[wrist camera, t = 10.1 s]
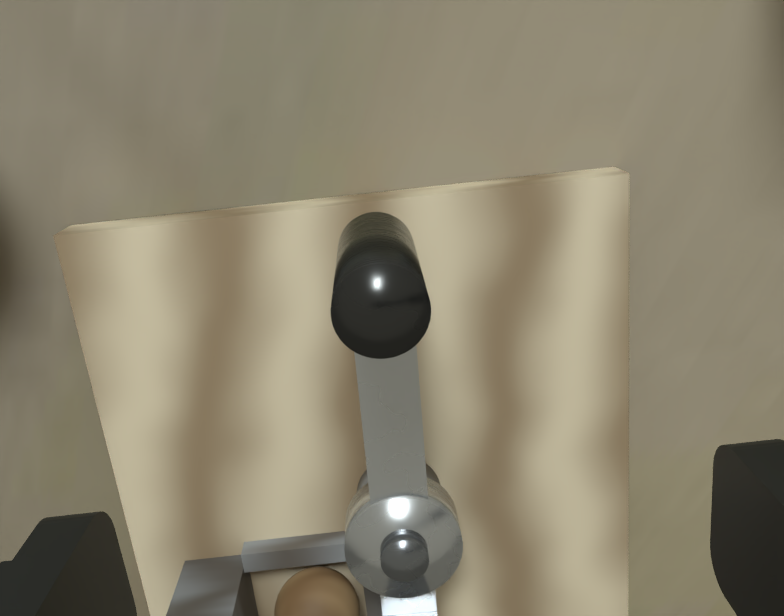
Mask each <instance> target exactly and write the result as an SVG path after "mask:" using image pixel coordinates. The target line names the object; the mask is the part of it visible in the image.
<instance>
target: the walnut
mask: <svg viewBox="0 0 784 616" xmlns="http://www.w3.org/2000/svg"><path fill="white" fill-rule="evenodd" d="M274 616H360V605H359V599H358V596H357V593H356V591H355V588H354V587H353V585H352V584H351V582H350V581H349V580H348V579H347V578H346V577H345V576H344V575H343V574H341V573H340V572H338V571H336V570H334V569H331V568H328V567H322V566H315V567H309V568H306V569H303V570H301V571H299V572H297V573H296V574H294V575H293V576H292V577H291V578H289V579H288V580H287V581H286V583H285V584H284V585H283V587H282V588H281V590H280V592H279V594H278V596H277V600H276V603H275V610H274Z"/></svg>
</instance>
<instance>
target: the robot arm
mask: <svg viewBox="0 0 784 616" xmlns="http://www.w3.org/2000/svg"><path fill="white" fill-rule="evenodd" d="M710 550H711V558H712V564H713V568H714V572H715V575H716V578H717V581H718V584H719V586H720V588H721V590H722V593H723V594H724V596H725V598H726V599H727V601H728V602H729V604H730V605H731V607H732V608H733V610H734V611H735V613H736V615H737V616H784V441H783V440H781V439H774V440H764V441H755V442H746V443H737V444H728V445H721V446H720V447H718V449H717V450H716V453H715V456H714V463H713V486H712V512H711V537H710ZM0 616H137V613H136V607H135V602H134V599H133V595H132V591H131V588H130V584H129V580H128V576H127V573H126V569H125V565H124V562H123V558H122V554H121V551H120V547H119V543H118V539H117V536H116V532H115V528H114V525H113V523H112V520H111V518H110V517H109V515H108V514H106V513H105V512H93V513H83V514H74V515H65V516H56V517H47V518H44V519H43V520H41V521H40V522H39V523H38V524H37V526H36V527H35V529H34V530H33V532H32V533H31V534H30V536H29V537H28V539H27V540H26V542H25V543H24V544H23V546H22V547H21V549H20V550H19V552H18V553H17V554H16V556H15V557H14V559H13V560H12V561H4V562H1V563H0Z"/></svg>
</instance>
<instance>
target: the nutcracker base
mask: <svg viewBox="0 0 784 616" xmlns="http://www.w3.org/2000/svg"><path fill="white" fill-rule="evenodd" d="M369 212H383V213H387V214H390V215H393V216H395V217H396V218H398V219H399V220H401V221H402V222H403V223H404V224H405V225H406V227H407V228H408V229H409V231H410V233H411V235H412V238H413V241H414V245H415V249H416V252H417V256H418V259H419V263H420V267H421V270H422V274H423V277H424V281H425V285H426V288H427V292H428V295H429V299H430V303H431V319H430V323H429V326H428V329H427V331H426V333H425V335H424V336H423V338H422V339H421V340H420V341H419V343H418V344H417V345H416V347H417V360H418V372H419V385H420V398H421V411H422V424H423V437H424V450H425V463H426V476H427V477H428V478H430V479H432V480H434V481H436V482H437V483H439V484H440V485H441V486H442V487H443V488H444V489H445V490H446V491H447V492H448V493H449V495H450V496H451V498H452V500H453V502H454V504H455V507H456V511H457V516H458V521H459V525H460V530H461V535H462V541H463V552H462V558H461V561H460V563H459V565H458V567H457V569H456V571H455V572H454V574H453V575H452V576H451V577H450V578H449V580H448V581H446V582H445V583H444V584H443V585H442V586H440V587H439V588H437V589H435V592H436V605H437V615H438V616H628V512H629V217H630V174H629V173H627V172H625V171H623V170H620V169H618V168H616V167H607V168H598V169H588V170H579V171H570V172H560V173H551V174H542V175H533V176H523V177H514V178H505V179H495V180H486V181H477V182H468V183H458V184H449V185H440V186H430V187H421V188H412V189H403V190H393V191H384V192H375V193H365V194H356V195H347V196H338V197H328V198H319V199H310V200H300V201H291V202H282V203H273V204H263V205H254V206H245V207H235V208H226V209H217V210H208V211H198V212H189V213H180V214H170V215H161V216H152V217H143V218H133V219H124V220H115V221H105V222H96V223H87V224H78V225H71V226H69V227H67V228H66V229H64V230H62V231H61V232H59V233H57V234H56V235H54V240H55V244H56V248H57V252H58V256H59V260H60V264H61V268H62V271H63V275H64V279H65V283H66V287H67V291H68V295H69V299H70V303H71V307H72V311H73V314H74V318H75V322H76V326H77V330H78V334H79V338H80V342H81V346H82V350H83V354H84V357H85V361H86V365H87V369H88V373H89V377H90V381H91V385H92V389H93V393H94V397H95V401H96V404H97V408H98V412H99V416H100V420H101V424H102V428H103V432H104V436H105V440H106V444H107V447H108V451H109V455H110V459H111V463H112V467H113V471H114V475H115V479H116V483H117V487H118V490H119V494H120V498H121V502H122V506H123V510H124V514H125V518H126V522H127V526H128V530H129V533H130V537H131V541H132V545H133V549H134V553H135V557H136V561H137V565H138V569H139V573H140V577H141V580H142V584H143V588H144V592H145V596H146V600H147V604H148V608H149V612H150V616H274V610H275V603H276V600H277V596H278V594H279V592H280V590H281V588H282V587H283V585H284V584H285V583H286V581H287V580H288V579H289V578H291V577H292V576H293V575H294V574H296V573H297V572H299V571H301V570H303V569H306V568H309V567H315V566H322V567H328V568H331V569H334V570H336V571H338V572H340V573H341V574H343V575H344V576H345V577H346V578H347V579H348V580H349V581H350V582H351V584H352V585H353V587H354V588H355V591H356V593H357V596H358V599H359V605H360V616H382V606H381V597H380V595H379V594H377V593H375V592H372V591H370V590H369V589H367V588H365V587H364V586H363V585H362V584H360V583H359V582H358V581H357V580H356V579H355V577H354V576H353V575H352V574H351V572H350V570H349V568H348V566H347V563H346V559H345V551H344V545H345V519H346V512H347V508H348V506H349V504H350V501H351V500H352V498H353V497H354V495H355V494H356V493H357V492H358V490H360V489H361V488H362V487H363V486H364V485H365V484H367V483H368V476H367V467H366V457H365V448H364V439H363V429H362V420H361V411H360V401H359V392H358V383H357V373H356V364H355V355H354V351H352V350H351V349H349V348H348V347H347V346H346V345H344V343H343V342H342V341H341V340H340V339H339V337H338V336H337V334H336V332H335V330H334V328H333V325H332V321H331V301H332V293H333V284H334V276H335V267H336V259H337V251H338V243H339V238H340V236H341V233H342V232H343V229H344V228H345V227H346V226H347V225H348V223H349V222H351V221H352V220H353V219H354V218H356V217H358V216H360V215H362V214H365V213H369Z"/></svg>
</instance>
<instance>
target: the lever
mask: <svg viewBox="0 0 784 616" xmlns="http://www.w3.org/2000/svg"><path fill="white" fill-rule="evenodd" d="M430 319H431V303H430V299H429V295H428V292H427V288H426V285H425V281H424V277H423V274H422V270H421V267H420V263H419V259H418V256H417V252H416V249H415V245H414V241H413V238H412V235H411V233H410V231H409V229H408V228H407V227H406V225H405V224H404V223H403V222H402V221H401V220H399V219H398V218H396V217H395V216H393V215H390V214H387V213H383V212H369V213H365V214H362V215H360V216H358V217H356V218H354V219H353V220H352V221H351V222H349V223H348V225H347V226H346V227H345V228H344V229H343V232H342V233H341V236H340V238H339V243H338V251H337V259H336V267H335V276H334V284H333V293H332V301H331V321H332V325H333V328H334V330H335V332H336V334H337V336H338V337H339V339H340V340H341V341H342V342H343V343H344V345H346V346H347V347H348V348H349V349H351V350H352V351H354V355H355V364H356V373H357V383H358V392H359V401H360V411H361V420H362V429H363V439H364V448H365V457H366V467H367V476H368V483H367V484H365V485H364V486H363V487H362V488H361V489H360V490H358V492H357V493H356V494H355V495H354V497H353V498H352V500H351V501H350V504H349V506H348V508H347V512H346V519H345V545H344V551H345V559H346V563H347V566H348V568H349V570H350V572H351V574H352V575H353V576H354V577H355V579H356V580H357V581H358V582H359V583H360V584H362V585H363V586H364V587H365V588H367V589H369V590H370V591H372V592H375V593H377V594H379V595H380V597H381V606H382V616H438V615H437V605H436V592H435V589H437V588H439V587H440V586H442V585H443V584H444V583H445V582H446V581H448V580H449V578H450V577H451V576H452V575H453V574H454V572H455V571H456V569H457V567H458V565H459V563H460V561H461V558H462V552H463V541H462V535H461V530H460V525H459V521H458V516H457V511H456V507H455V504H454V502H453V500H452V498H451V496H450V495H449V493H448V492H447V491H446V490H445V489H444V488H443V487H442V486H441V485H440V484H439V483H437V482H436V481H434V480H432V479H430V478H428V477H427V476H426V463H425V450H424V437H423V424H422V411H421V398H420V385H419V372H418V360H417V347H416V345H417V344H418V343H419V341H420V340H421V339H422V338H423V336H424V335H425V333H426V331H427V329H428V326H429V323H430Z"/></svg>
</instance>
